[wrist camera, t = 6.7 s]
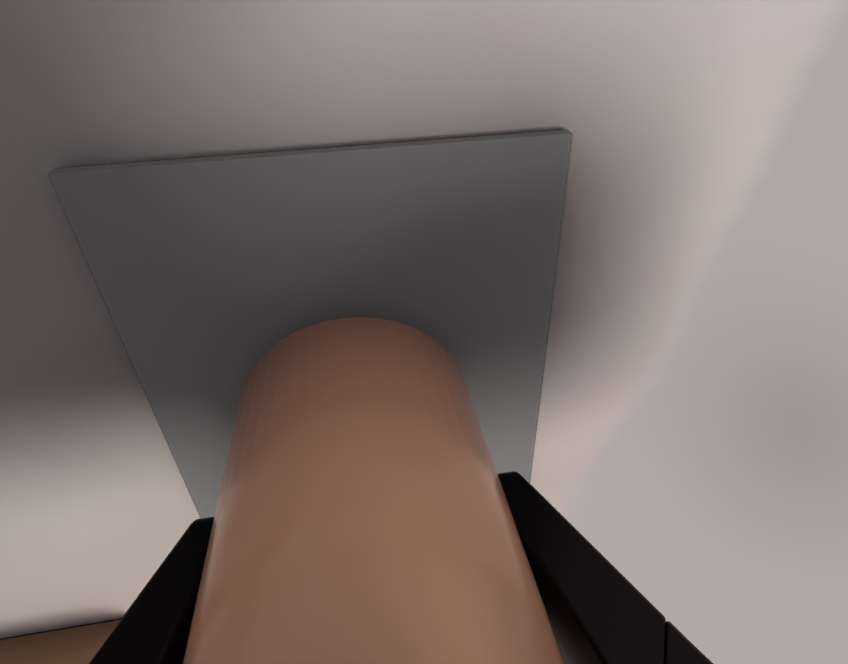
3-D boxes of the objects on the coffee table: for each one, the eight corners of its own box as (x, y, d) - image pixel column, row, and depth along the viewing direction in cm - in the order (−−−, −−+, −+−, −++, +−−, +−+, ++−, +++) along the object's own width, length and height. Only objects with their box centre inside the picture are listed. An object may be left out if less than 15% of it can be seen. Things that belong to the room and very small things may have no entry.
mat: (523, 505, 16) (526, 513, 16) (221, 552, 15) (220, 562, 15) (566, 130, 10) (572, 132, 9) (55, 168, 9) (47, 173, 8)
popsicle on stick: (467, 304, 10) (715, 849, 4) (464, 531, 14) (579, 980, 8) (211, 333, 10) (-23, 1032, 3) (283, 560, 14) (245, 1069, 7)
